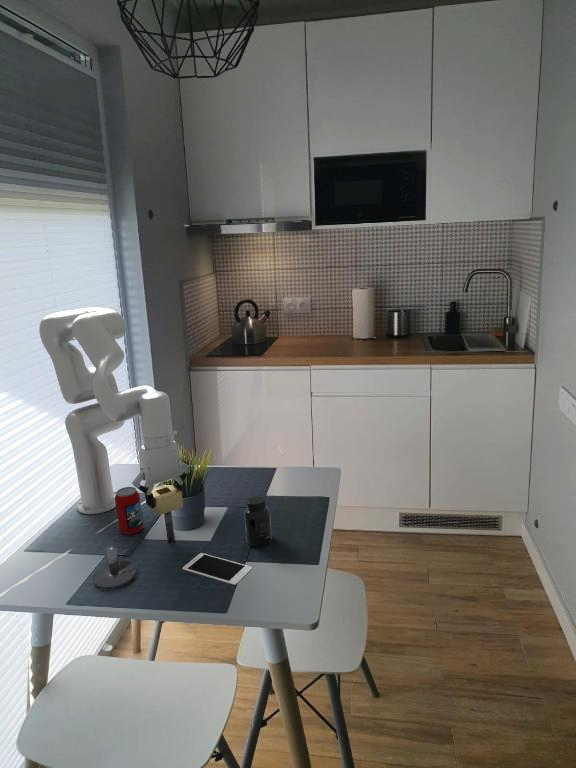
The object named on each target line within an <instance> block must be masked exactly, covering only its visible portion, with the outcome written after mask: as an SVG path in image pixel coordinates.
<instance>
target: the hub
mask: <svg viewBox="0 0 576 768" xmlns="http://www.w3.org/2000/svg"><path fill="white" fill-rule="evenodd" d="M106 555H107V562H108V563H105V564H104V565H102V566H100V567H98V568H97V569H96V570H95V572H94V573H93V583H95V584H94V586H95V585H96V586H97V587H96V586H95V587H96V588H98V587H99V588H98V589H100V588H102V589H101V590H104V589H113V590H116V589H115V588H118V589H120V588H121V589H122V588H124V587H126V586H128V585H129V584H131V583H132V582H133V581H134V580H135V579H136V578H137V572H138V571H137V567H136V565H135V563H134V562H132V561H129V560H119V559H118V558H119V557H118V552H117V546H115V545H109V546H108V547H106ZM123 586H124V587H123Z"/></svg>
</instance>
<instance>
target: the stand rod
mask: <svg viewBox="0 0 576 768" xmlns="http://www.w3.org/2000/svg"><path fill="white" fill-rule="evenodd" d="M172 512H173V511H170V512H167V513H164V514H163V517H164V525H165V533H166V540H167V541H166V542H167V543H174V542H175V540H176V537H175V530H174V529H175V527H174V520H173V514H172Z"/></svg>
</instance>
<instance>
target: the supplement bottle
mask: <svg viewBox="0 0 576 768" xmlns="http://www.w3.org/2000/svg"><path fill="white" fill-rule="evenodd" d="M266 502H267V501H266V498H265V497H264V496H261V495H254V496H251V497H248V499H247V501H246V507H247V508H246V509H245V510H244V515H243V516H244V528H245V538H246V543H247V544H248V545H249V546H251V547H255V548H258V547H259V548H262V547H265V546H267V545H269V544H270V543H271V542H272V539H273V536H272V535H273V534H272V533H273V532H272V519H271V510H270V508H269V507H268V506H267V503H266Z"/></svg>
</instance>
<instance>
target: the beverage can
mask: <svg viewBox="0 0 576 768" xmlns="http://www.w3.org/2000/svg"><path fill="white" fill-rule="evenodd" d="M115 494H116V496H115V505H116V507H115V512H116V518H117V524H118V530H119V532H121V534H125V535H133V534H136V533H139V532H140V531H142V529H143V528H144V519H143V518H144V517H143V511H142V510H143V509H142V504H141V496H140V493H139V491H138V490H137V488H136V487H135V486H125V487H122V488H119V489H118V490H117V491H116V492H115Z"/></svg>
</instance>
